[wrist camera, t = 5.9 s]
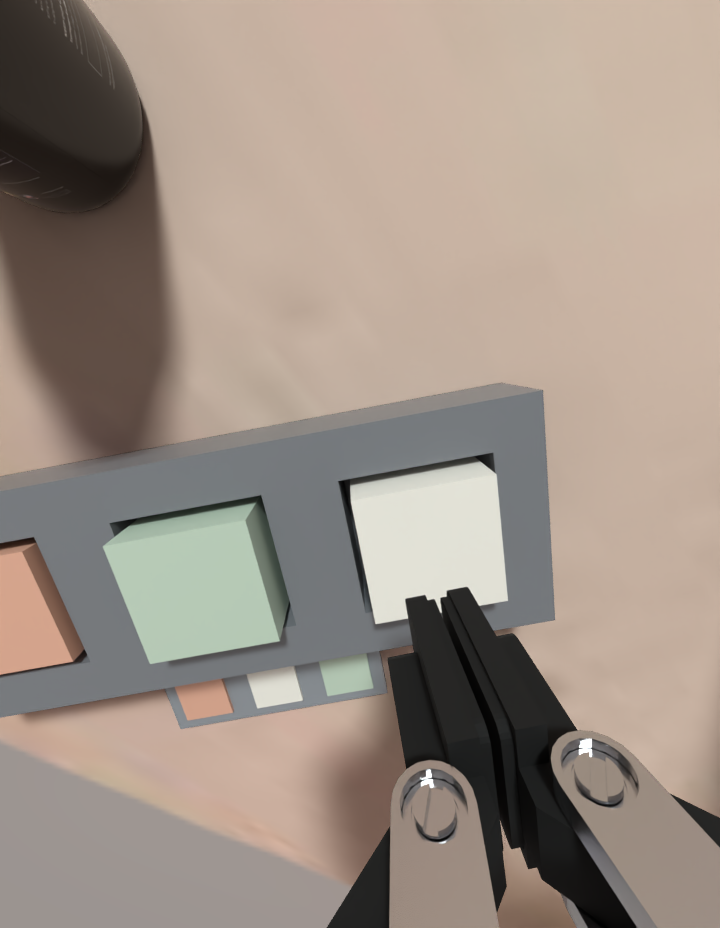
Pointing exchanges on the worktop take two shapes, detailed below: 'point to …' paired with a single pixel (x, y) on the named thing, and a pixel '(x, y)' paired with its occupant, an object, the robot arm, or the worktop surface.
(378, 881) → the robot arm
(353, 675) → the card
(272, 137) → the worktop surface
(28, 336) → the worktop surface
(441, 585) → the cream key
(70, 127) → the supplement bottle
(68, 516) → the keypad
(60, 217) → the worktop surface
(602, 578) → the worktop surface
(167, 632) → the sage key
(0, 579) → the terracotta key
